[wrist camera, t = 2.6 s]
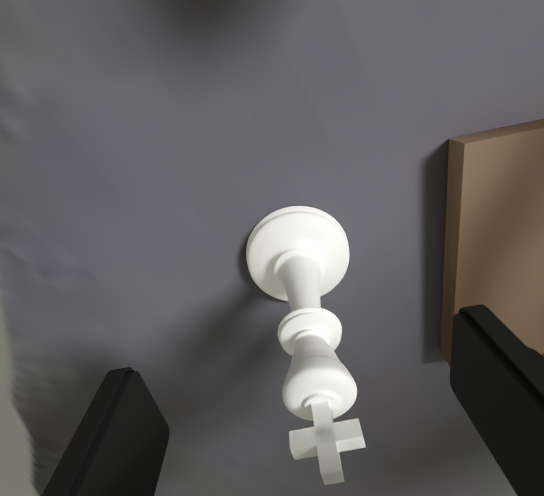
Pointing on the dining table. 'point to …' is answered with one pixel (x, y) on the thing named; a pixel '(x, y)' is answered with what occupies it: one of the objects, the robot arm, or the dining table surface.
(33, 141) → the dining table surface
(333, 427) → the chess piece
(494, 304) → the walnut board
